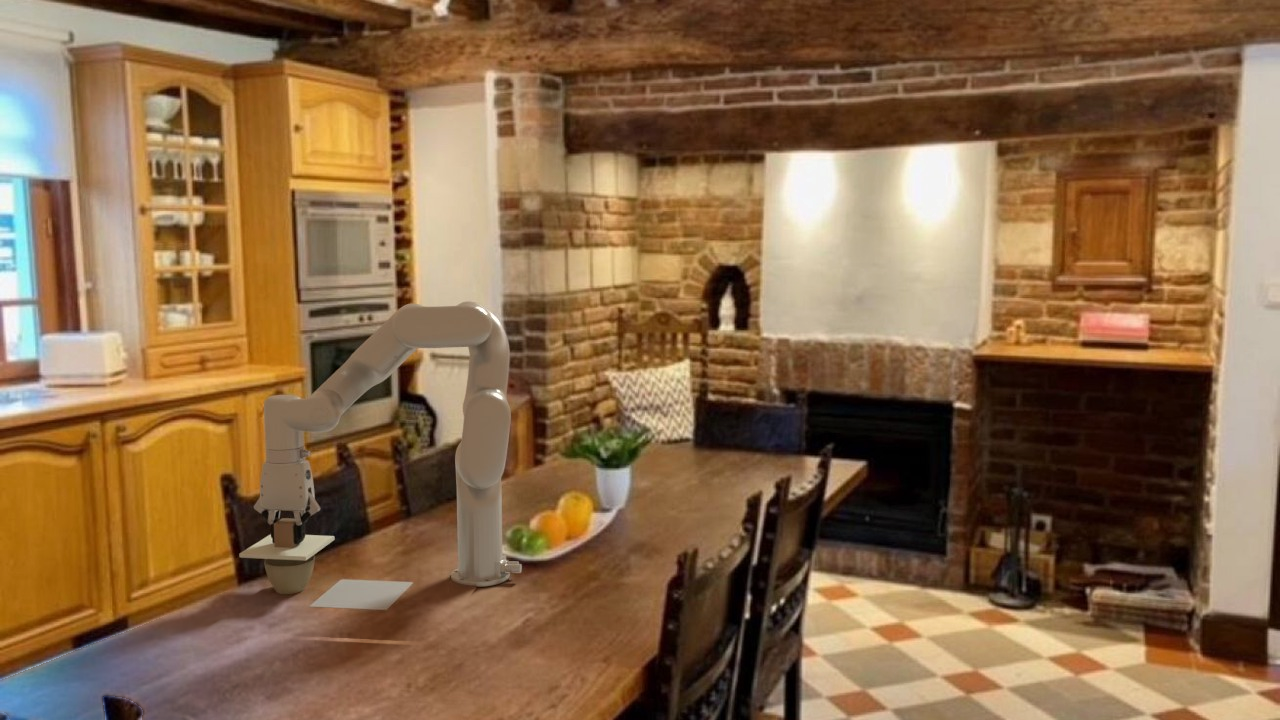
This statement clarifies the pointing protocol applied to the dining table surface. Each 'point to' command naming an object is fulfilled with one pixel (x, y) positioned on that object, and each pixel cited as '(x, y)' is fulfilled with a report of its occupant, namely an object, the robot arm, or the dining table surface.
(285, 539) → the lid
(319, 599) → the mat
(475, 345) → the robot arm
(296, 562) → the flower pot
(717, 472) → the dining table surface
